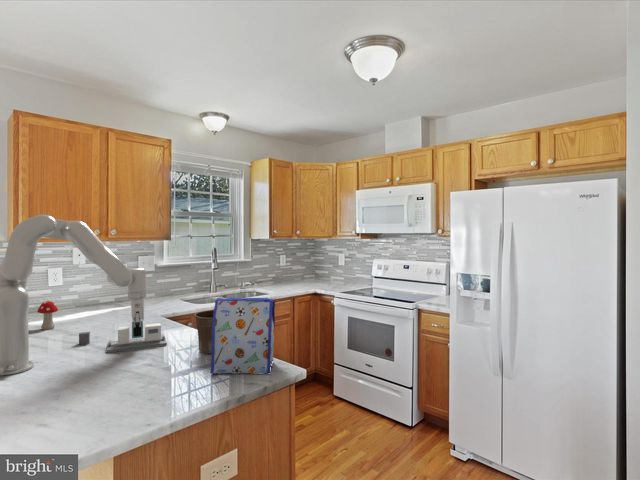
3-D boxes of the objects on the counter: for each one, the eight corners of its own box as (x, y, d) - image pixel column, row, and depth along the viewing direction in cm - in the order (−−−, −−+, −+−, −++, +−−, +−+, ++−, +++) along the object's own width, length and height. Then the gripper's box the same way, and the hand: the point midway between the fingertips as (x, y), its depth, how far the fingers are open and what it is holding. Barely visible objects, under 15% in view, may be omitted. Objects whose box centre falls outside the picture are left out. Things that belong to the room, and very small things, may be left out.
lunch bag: (276, 360, 148) (276, 293, 148) (273, 375, 131) (273, 301, 131) (219, 361, 147) (219, 294, 147) (209, 377, 130) (208, 301, 130)
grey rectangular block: (89, 343, 171) (89, 333, 171) (78, 345, 169) (78, 334, 169) (89, 342, 174) (89, 331, 174) (79, 343, 172) (79, 332, 172)
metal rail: (164, 340, 172) (164, 336, 172) (108, 346, 162) (108, 342, 162) (164, 338, 176) (164, 334, 176) (108, 344, 165) (108, 340, 165)
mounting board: (166, 345, 168) (166, 342, 168) (106, 353, 157) (106, 350, 157) (164, 338, 181) (164, 335, 181) (108, 344, 170) (108, 341, 170)
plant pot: (240, 348, 164) (240, 312, 164) (213, 358, 150) (213, 319, 150) (214, 342, 172) (214, 308, 172) (186, 352, 158) (186, 314, 158)
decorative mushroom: (33, 329, 197) (33, 301, 197) (49, 326, 205) (49, 299, 205) (46, 331, 194) (46, 303, 193) (62, 327, 202) (62, 300, 202)
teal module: (143, 337, 167) (142, 322, 167) (132, 338, 165) (131, 323, 165) (142, 334, 172) (142, 320, 172) (132, 335, 170) (131, 321, 170)
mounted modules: (161, 339, 171) (160, 325, 171) (117, 344, 163) (117, 330, 163) (160, 336, 176) (160, 323, 176) (118, 341, 168) (118, 327, 168)
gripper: (146, 297, 163) (147, 338, 163) (145, 292, 178) (145, 329, 178) (127, 298, 159) (128, 340, 159) (128, 293, 175) (128, 331, 175)
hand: (137, 334), depth 169 cm, fingers closed on teal module, 5 cm apart
